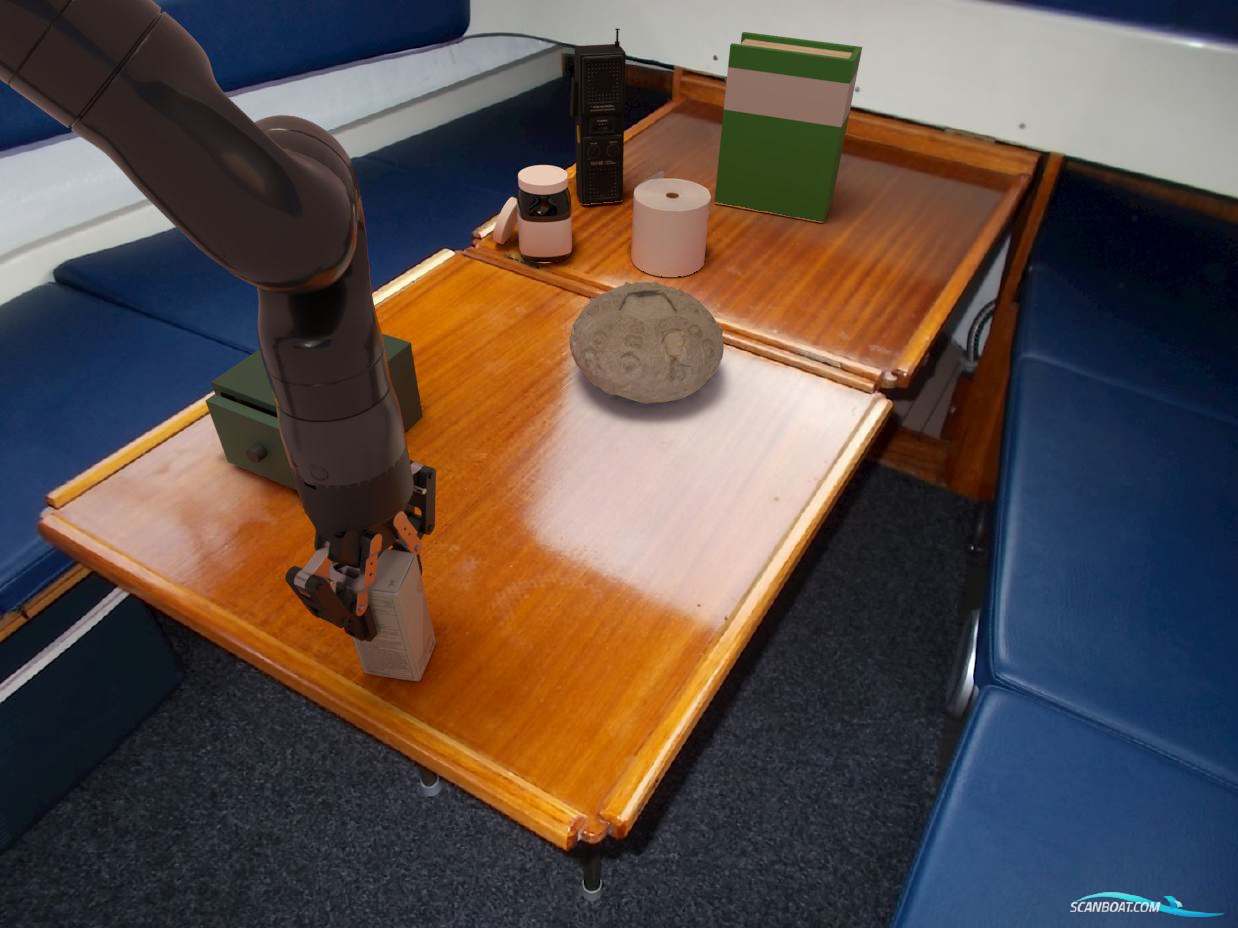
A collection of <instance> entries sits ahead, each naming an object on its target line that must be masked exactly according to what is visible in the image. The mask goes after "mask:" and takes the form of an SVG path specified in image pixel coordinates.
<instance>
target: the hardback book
mask: <svg viewBox="0 0 1238 928" xmlns="http://www.w3.org/2000/svg"><path fill="white" fill-rule="evenodd" d="M862 51H863V46H858V45H850V44H843V43H834V42H828V41H827V42H826V41H818V40H810V39H803V38H796V37H795V38H794V37H787V36H779V35H772V34H763V33H755V32H747V31H742V32H741V37H740V44H739V43H733V42H731V44H730V45H729V51H728V52H729V54H728V62H727V64H728V65H727V74H726V82H725V83H726V84H725V94H724V103H723V111H722V112H723V113H722V114H723V115H722V122H721V132H720V142H719V143H720V144H719V152H718V162H717V173H716V180H715V181H716V182H715V191H714V192H715V193H714V202H718V203H723V204H727V205H732V206H741V207H745V208H750V209H754V210H758V211H768V212H772V213H777V214H782V215H786V216H791V217H800V218H805V219H810V220H816V221H821V222H823V221H824V219H825V220H826V218H827V216H828V214H829V212H830V210H829V208H830V209H831V207H832V205H831V204H833V200H834V194H835V189H836V184H837V179H838V174H839V169H840V163H841V158H842V153H843V148H844V142H845V139H846V134H847V128H848V124H849V118H850V112H851V108H852V103H853V97H854V92H855V86H856V81H857V77H858V72H859V66H860V61H861V56H862ZM714 202H713V203H714ZM830 206H831V207H830ZM828 211H829V212H828ZM827 213H828V214H827ZM826 215H827V216H826ZM825 217H826V218H825ZM824 222H825V221H824Z"/></svg>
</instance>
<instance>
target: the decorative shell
mask: <svg viewBox="0 0 1238 928" xmlns="http://www.w3.org/2000/svg"><path fill="white" fill-rule="evenodd" d="M723 334H724V328H723V327H721V326H720V325H718V324H717V319H715V317H714V315H713V313H711V311H709V309H708V308H707V307H705V306H704V305H703V303H701V300H699V299H697V298H696V297H694V296H692V294H690V293H687V292H685V291H684V290H681V289H677V288H675V287H672V286H667V285H665V284H660V283H658V281H656V280H655V281H654V282H650V281H642V282H641V281H640V282H639V281H637V282H634V283H633V282H632V283H630V282H629V281H626V282H624V284H623V285H619V286H616V287H615V288H612V289H609V290H608V291H606V292H602V293H600V294H599V295H597V297H590V300H589V303H587V304H586V305H585V306H584V307H583V308H582V309H581V311H580V312H579V314H578V316H577V317H576V319H575V320H574V322H573V324H572V327H571V330H570V335H569V349H570V352H571V356H572V358H573V360H574V363H575V364H576V366H577V367H578V369H579V370H580V371H581V372H582V374H583V375H584V377H585V378H586V379H587V380H588V382H590V383H591V384H592V385H594V386H595V387H597V388H598V389H600V390H601V391H603V392H605V393H606V394H608V395H616V396H618V397H622V398H625V399H628V400H631V401H634V402H637V403H640V404H647V405H648V404H653V403H668V402H673V401H679V400H683V399H686V398H687V397H689V396H691V395H692V394H694V393H695V392H697V391H699V390H700V389H701V388H702V387H703V386H704V385H705V384H706V383H707V382H708V381H709V380H710V378H712V377H713V376H714V375H715V373H716V372H717V371H718V368H719V366H720V365H721V362H722V360H723V356H724V352H725V351H724V350H725V349H724V348H725V345H724V343H725V341H724V339H723Z"/></svg>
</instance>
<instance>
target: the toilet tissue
mask: <svg viewBox="0 0 1238 928" xmlns="http://www.w3.org/2000/svg"><path fill="white" fill-rule="evenodd" d="M664 175H665V170H664V169H663V170H661V171H658V172H655V173H654V174H652V175H650V176H649V177H646V178H645V179H643V180H642V182H640V183H639V184H637V186H636V187H635V188H634V191H633V196H632V197H633V201H632V219H631V220H632V221H631V222H632V223H631V227H632V229H631V250H630V255H631V257H630V259H631V263H632V264H633V266H634V267H635V268H637V269H638V270H640V271H641V272H643V271H644V273H646V274H648V275H651V276H655V277H661V276H662V277H663V278H679V277H678V276H681V277H685V276H689V275H692V274H695V273H697V272H699V270H701V269H702V268H703V267H704V266H705V262H704V261H705V259H706V250H707V238H708V233H709V232H708V228H709V218H710V211H711V210H710V209H711V197H712V196H711V193H710V191H709V189H708V188H707V187H705V186H703V185H702V184H700V183H697V182H695V181H692V180H687V179H682V178H672V177H671V178H664ZM696 271H697V272H696ZM694 272H695V273H694Z"/></svg>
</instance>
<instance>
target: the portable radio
mask: <svg viewBox="0 0 1238 928" xmlns="http://www.w3.org/2000/svg"><path fill="white" fill-rule="evenodd" d="M614 30H615V41H614V43H609V44H607V43H606V44H588V45H575V46H574V58H573V59H574V60H573V61H574V64H573V65H574V76H571V81H570V82H571V83H570V102H569V103H570V104H569V105H570V106H569V116H570V117H571V119H572V120H574V121H575V125H574V126H575V188H576V189H575V191H576V193H577V194H576V193H575V194H576V197H577V196H578V197H577V199H578V198H579V199H580V201H581V203H582V204H591V203H603V202H615V201H621V200H623V201H624V155H625V154H624V153H625V152H624V149H625V148H624V147H625V145H624V144H625V103H626V101H625V100H626V99H625V98H626V68H627V67H626V63H627V62H626V61H627V54H626V53H627V52H626V51H625V49H624V48H623V47H622V46H621V44H620V43H621V42H620V41H619V31H620V30H621V29H620V28H614ZM574 118H575V119H574ZM579 199H578V200H579ZM580 201H579V202H580ZM581 203H580V204H581Z"/></svg>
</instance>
